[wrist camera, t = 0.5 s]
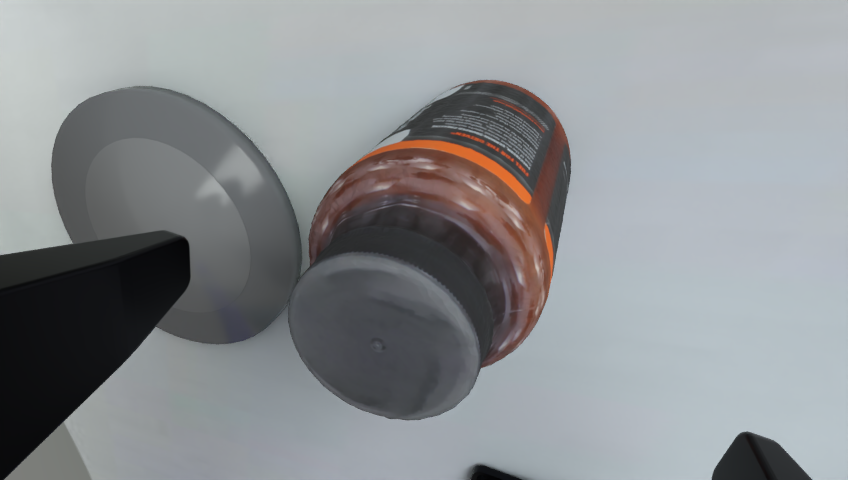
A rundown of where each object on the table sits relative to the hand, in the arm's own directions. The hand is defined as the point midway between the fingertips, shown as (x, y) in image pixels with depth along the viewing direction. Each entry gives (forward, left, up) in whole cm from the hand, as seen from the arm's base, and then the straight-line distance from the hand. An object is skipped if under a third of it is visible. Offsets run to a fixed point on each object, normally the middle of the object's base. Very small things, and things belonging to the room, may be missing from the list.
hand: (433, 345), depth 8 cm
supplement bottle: (-1, +1, -13) cm, 13 cm away
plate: (-8, +15, -12) cm, 21 cm away
